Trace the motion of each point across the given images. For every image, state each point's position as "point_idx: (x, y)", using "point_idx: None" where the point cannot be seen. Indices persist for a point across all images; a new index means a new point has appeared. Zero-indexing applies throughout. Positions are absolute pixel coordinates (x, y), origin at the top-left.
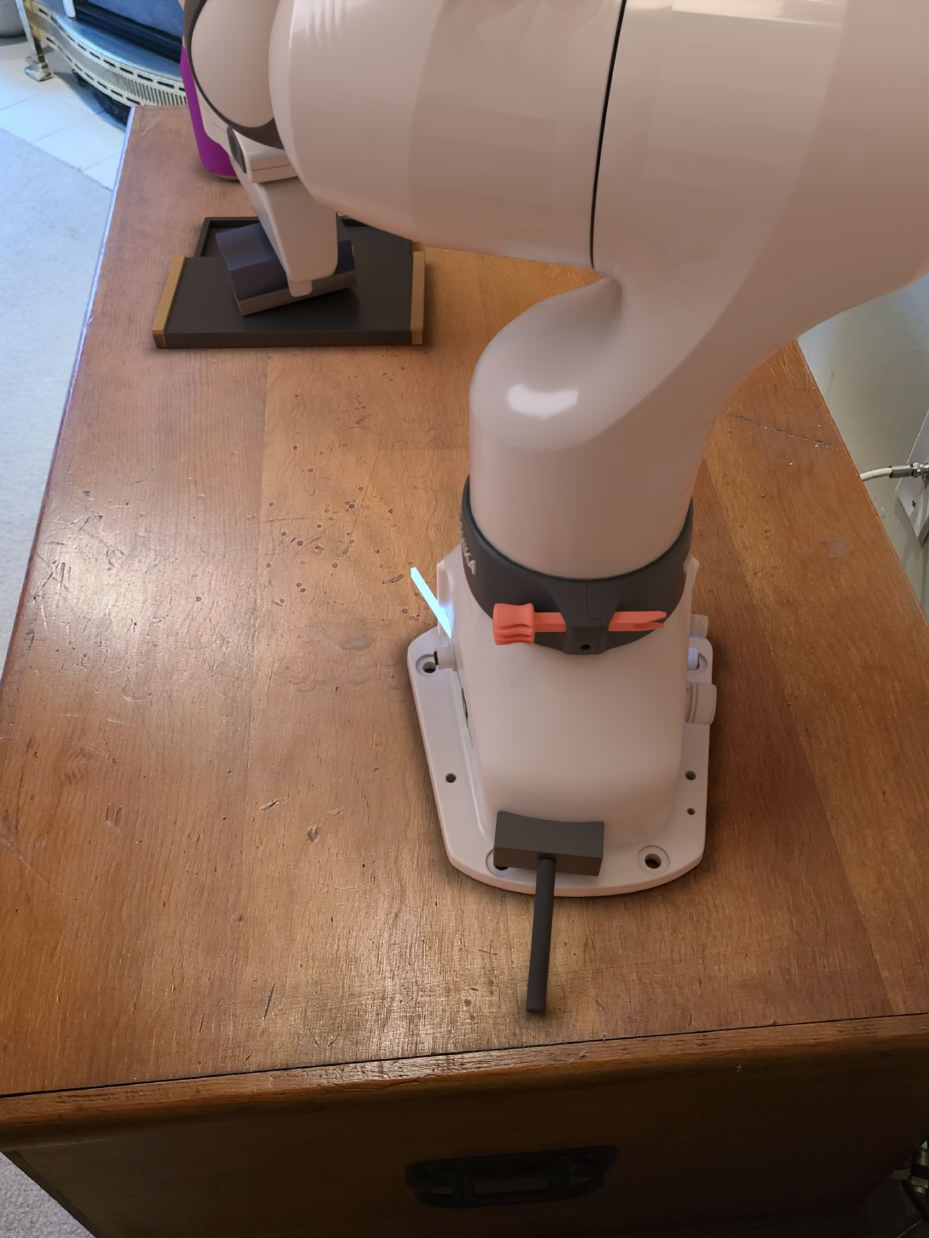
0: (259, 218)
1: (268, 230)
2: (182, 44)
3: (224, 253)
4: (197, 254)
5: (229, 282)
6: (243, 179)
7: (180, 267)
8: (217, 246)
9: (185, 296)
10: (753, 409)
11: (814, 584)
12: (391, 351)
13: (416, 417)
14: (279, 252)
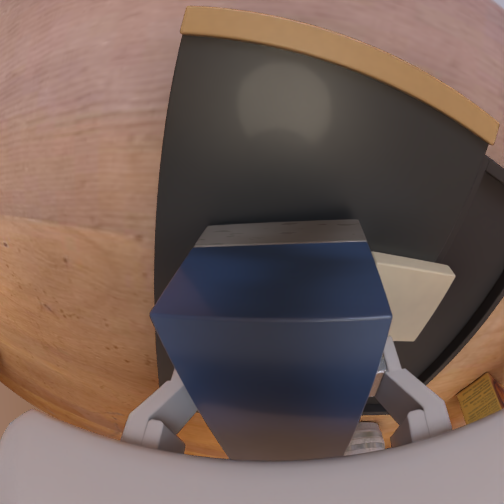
0: (236, 486)
1: (116, 485)
2: None
3: (249, 325)
4: (492, 168)
5: (321, 228)
6: (427, 495)
7: (457, 118)
8: (502, 206)
9: (342, 96)
10: (119, 439)
11: (33, 399)
12: (155, 363)
13: (65, 345)
14: (43, 451)
